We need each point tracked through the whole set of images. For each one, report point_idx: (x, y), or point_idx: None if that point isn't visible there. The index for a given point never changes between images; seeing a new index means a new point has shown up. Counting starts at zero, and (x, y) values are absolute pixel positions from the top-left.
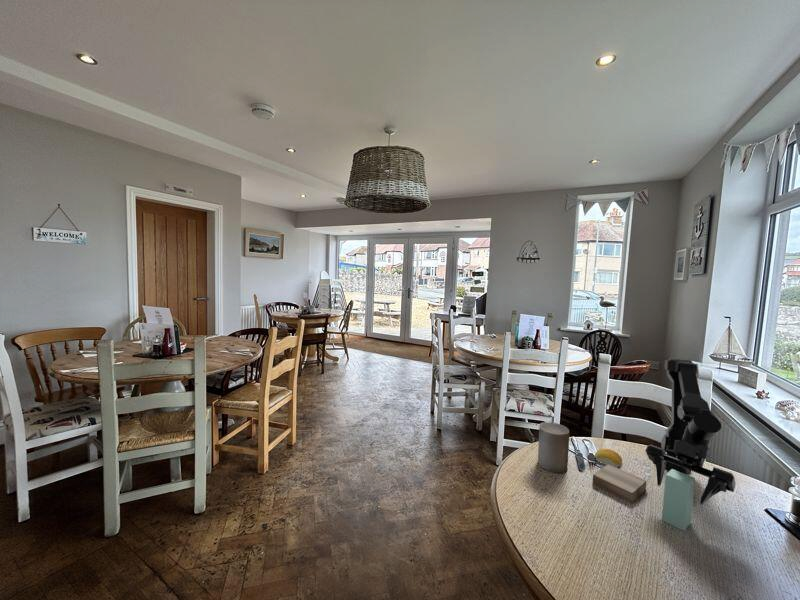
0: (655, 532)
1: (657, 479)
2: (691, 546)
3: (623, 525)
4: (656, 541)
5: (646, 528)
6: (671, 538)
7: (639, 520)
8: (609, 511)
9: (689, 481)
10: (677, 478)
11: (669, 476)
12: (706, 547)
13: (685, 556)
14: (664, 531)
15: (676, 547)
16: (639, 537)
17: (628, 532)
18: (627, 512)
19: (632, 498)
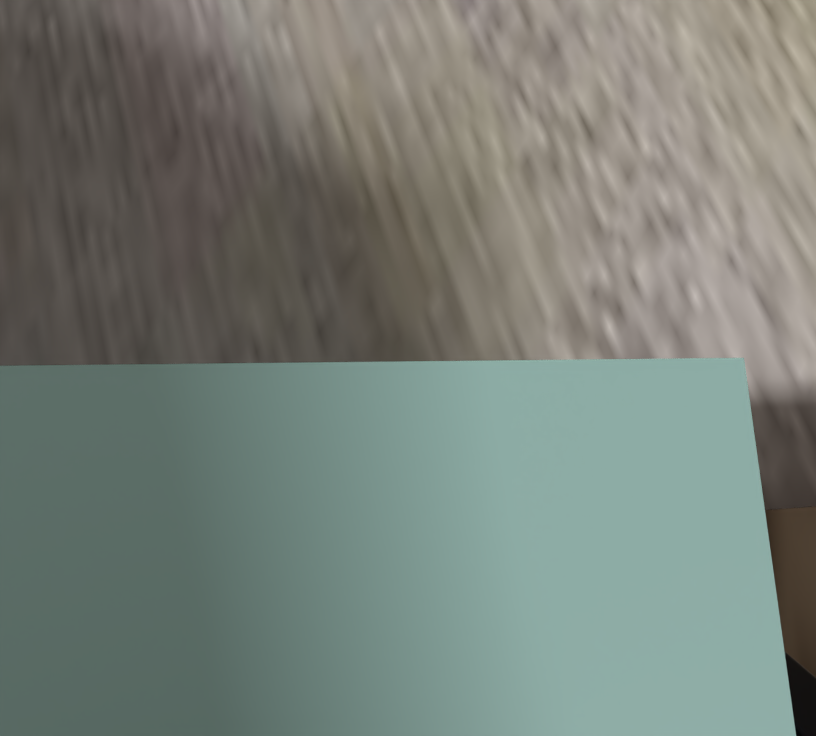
0: (411, 209)
1: (808, 672)
2: (138, 287)
3: (611, 66)
4: (360, 90)
5: (482, 197)
6: (291, 247)
7: (570, 265)
8: (778, 157)
9: (30, 633)
10: (398, 423)
11: (622, 368)
12: None
13: (143, 97)
14: (367, 300)
15: (225, 153)
16: (465, 24)
17: (544, 12)
18: (690, 293)
19: (790, 533)
